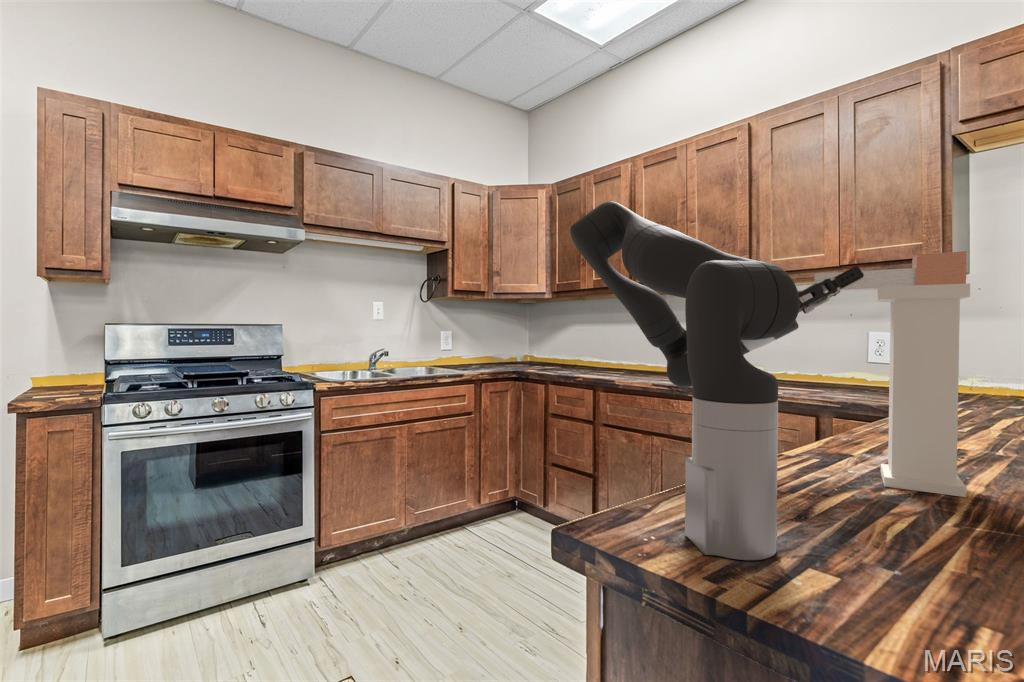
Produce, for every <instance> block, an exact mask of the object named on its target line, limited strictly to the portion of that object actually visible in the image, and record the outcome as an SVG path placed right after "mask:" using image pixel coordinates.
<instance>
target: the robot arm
mask: <svg viewBox="0 0 1024 682" xmlns="http://www.w3.org/2000/svg"><path fill="white" fill-rule="evenodd" d="M569 233H570V237H571V239H572V241H573V243H574V245H575V247H576V249H577V251H578V252H579V253H580V254H581V257H583V259H584V260H585V261H586V262H587V264H588V265H589V266H590V267H591V268H592V270H593V271H594V272H595V274H596V275H597V276H598V278H600V279H601V281H602V282H603V283H604V285H606V287H607V288H608V289H609V291H610V292H611V293H612V294H614V295H613V296H615V298H616V299H618V301H619V302H620V303H621V304H622V305H623V307H624V308H625V309H626V310H627V312H629V314H630V315H631V317H632V319H634V321H635V323H636V324H637V326H638V327H639V329H640V330H641V332H642V333H643V335H644V336H645V338H646V340H647V341H648V342H649V344H650V345H651V346H653V347H654V348H656V349H659V350H660V352H661V353H662V354H663V356H664V357H665V359H666V375H667V379H668V380H669V381H670V383H671V384H672V385H674V386H676V387H679V388H684V389H686V388H691V389H692V391H691V392H692V404H691V405H692V408H691V409H692V412H691V413H692V414H691V415H692V417H691V419H692V420H691V421H692V422H691V423H692V424H691V425H692V426H691V457H688V456H687V457H686V458H685V471H684V472H685V480H684V481H685V485H684V486H685V487H684V488H685V489H684V492H685V497H684V499H685V500H684V502H685V503H684V507H685V508H684V514H685V515H684V516H685V517H684V535H685V536H686V537H688V539H689V540H690V541H691V542H692V543H693V544H694V545H695V547H697V549H699V550H700V552H701V553H703V555H705V556H719V557H723V558H725V559H726V558H727V559H734V560H741V561H760V560H765V559H769V558H771V557H774V555H775V554H776V553H777V537H778V530H777V527H778V525H777V523H778V522H777V521H778V517H777V516H778V514H777V513H778V450H779V449H778V446H779V445H778V443H779V441H778V439H779V438H778V437H779V435H778V434H779V433H778V432H779V431H778V429H779V401H778V400H779V382H778V378H777V377H776V376H775V375H774V374H772V373H770V372H768V371H765V370H763V369H761V368H758V367H756V366H754V365H753V364H752V363H750V362H749V361H748V360H747V359H746V358H745V356H744V355H746V354H748V353H750V352H753V351H754V350H757V349H761V348H763V347H765V346H767V345H770V344H771V343H773V342H775V341H777V340H778V339H780V338H782V337H784V336H788V335H789V334H791V333H793V332H794V331H797V330H798V329H799V324H798V321H797V317H798V314H799V313H801V312H803V313H804V314H805V315H807V314H809V313H810V312H813V311H814V310H815V308H817V307H819V306H822V305H823V304H825V303H827V302H829V300H830V298H832V297H836V296H837V295H838V294H841V291H840V290H841V288H844V287H846V286H848V285H849V284H851V283H853V282H855V281H857V280H859V279H861V278H863V276H864V274H863V273H862V271H863V270H861V268H860V267H859V266H853V267H850V268H849V269H847V270H845V271H842V272H843V273H842V274H840V275H838V276H836V277H835V278H834V277H832V278H829V279H825V280H824V281H822V282H820V283H815V284H812V285H809V286H808V287H806V288H805V289H803V290H798V288H797V286H796V284H795V282H794V280H793V279H792V277H791V276H790V275H789V274H788V272H786V271H785V270H784V269H783V268H782V267H780V266H778V265H776V264H774V263H771V262H768V261H767V262H766V261H761V260H755V259H750V258H747V257H742V256H738V255H734V254H730V253H728V252H724V251H722V250H720V249H718V248H715V247H713V246H712V245H710V244H707V243H706V242H703V241H701V240H699V239H696V238H693V237H692V236H690V235H686V234H684V233H683V232H682V231H679V230H676V229H673V228H671V227H668V226H665V225H663V224H659V223H656V222H654V221H652V220H649V219H647V218H645V217H643V216H640V215H639V214H637V213H636V212H634V211H633V210H631V209H629V208H627V207H626V206H624V205H623V204H621V203H619V202H617V201H614V200H608V201H605V202H603V203H601V204H599V205H597V206H596V207H595V208H593V209H592V210H590V211H589V212H588V213H586V214H585V215H584V216H582V217H581V218H580V219H578V220H577V221H576V222H574V223H573V224H572V225H571V226H570V229H569ZM619 251H621V258H622V263H623V266H624V268H625V270H626V272H627V273H628V274H629V275H630V276H631V277H633V278H634V279H635V280H637V281H638V282H640V283H638V282H637V281H634V280H632V279H630V278H628V277H626V276H625V275H623V274H621V273H620V272H619V271H618V270H617V269H616V268H614V266H612V264H611V263H610V262H609V259H610V258H611V257H612V256H615V254H617V253H619ZM824 285H825V287H826V288H827V290H828V291H824V290H823V288H822V287H823V286H824ZM840 286H841V287H840ZM660 293H662V294H665V295H669V296H673V297H678V298H682V299H685V303H684V307H685V310H684V311H685V313H684V314H685V316H684V317H685V328H684V327H683V326H682V324H681V323H680V321H679V319H678V318H677V316H676V314H675V313H674V311H673V309H672V308H671V306H670V305H669V303H668V302H667V300H665V298H664V296H662V295H661V294H660Z"/></svg>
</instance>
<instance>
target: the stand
mask: <svg viewBox="0 0 1024 682" xmlns="http://www.w3.org/2000/svg"><path fill="white" fill-rule="evenodd" d="M875 292H876V295H875V297H876V298H875V301H876V303H889V302H890V312H889V313H890V316H889V317H890V318H889V322H890V323H889V324H890V325H889V374H888V376H889V381H888V383H889V384H888V385H889V386H888V387H889V389H888V390H889V391H888V438H887V439H888V441H887V442H888V443H887V444H888V446H887V447H888V450H887V451H888V452H887V463H880V475H881V479H882V482H883V483H882V484H883V487H887V488H892V489H893V488H894V489H901V490H902V489H903V490H908V491H909V490H910V491H915V492H916V491H917V492H925V493H933V494H941V495H946V496H955V497H961V498H966V497H967V486H966V485H965V483H964V482H963V481H962V480H961V478H960V477H959V475H958V430H959V429H958V428H959V427H958V421H959V420H958V419H959V415H958V414H959V375H960V374H959V371H960V370H959V369H960V368H959V365H960V364H959V361H960V319H961V317H960V315H961V313H960V310H961V309H960V308H961V305H960V304H961V300H964V299H967V298H970V297H971V283H966V284H942V285H914V286H887V287H879V288H878V289H876V290H875Z"/></svg>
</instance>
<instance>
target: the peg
mask: <svg viewBox="0 0 1024 682" xmlns="http://www.w3.org/2000/svg"><path fill="white" fill-rule="evenodd" d="M911 262H912V263H911V264H912V265H911V267H910V268H909V267H908V268H893V269H889V268H888V269H877V270H876V269H874V270H861V271H862V273H863V274H864V276H863V278H861V279H859V280H857V281H855V282H853V283H851V284H849V285H848V286H846V287H844V288H841V290H840V292H843V291H870V290H875V291H876V290H877V289H878V288H879V287H887V286H914V285H942V284H967V251H966V250H965V251H963V250H961V251H952V252H951V251H949V252H948V251H947V252H937V253H936V252H934V253H919V254H915V255H914V256H913V258H912V260H911ZM843 272H844V271H839V272H836V271H835V272H818V273H814V284H815V283H820V282H822V281H824V280H825V279H829V278H832V277H834V278H835V277H836V276H838V275H840V274H842V273H843ZM840 287H841V286H840ZM822 288H823V290H824V291H825V292H828V290H827V288H826V287H825V285H824V286H823V287H822Z"/></svg>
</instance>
